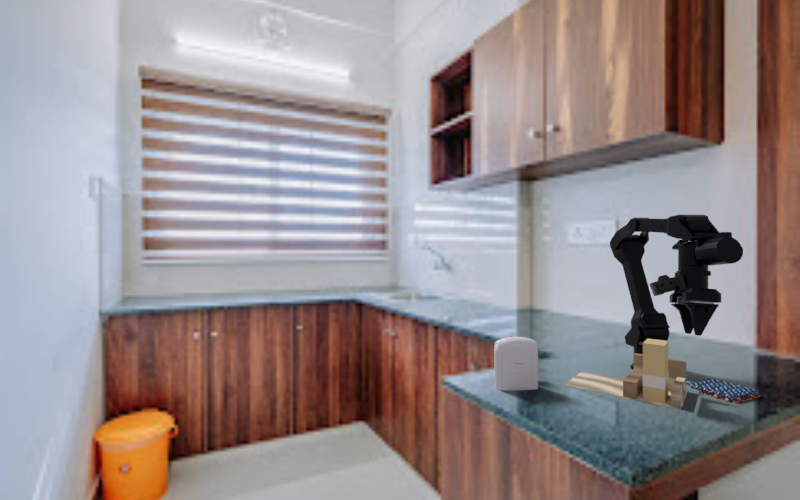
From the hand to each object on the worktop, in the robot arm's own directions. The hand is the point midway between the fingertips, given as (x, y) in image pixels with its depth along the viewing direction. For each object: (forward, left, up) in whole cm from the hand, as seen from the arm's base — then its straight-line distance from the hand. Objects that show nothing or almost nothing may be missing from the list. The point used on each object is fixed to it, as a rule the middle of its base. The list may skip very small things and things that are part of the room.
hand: (692, 334), depth 92 cm
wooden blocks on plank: (+9, -12, -13) cm, 20 cm away
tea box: (+11, -6, -13) cm, 18 cm away
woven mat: (-4, +5, -14) cm, 16 cm away
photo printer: (+25, -32, -14) cm, 42 cm away
